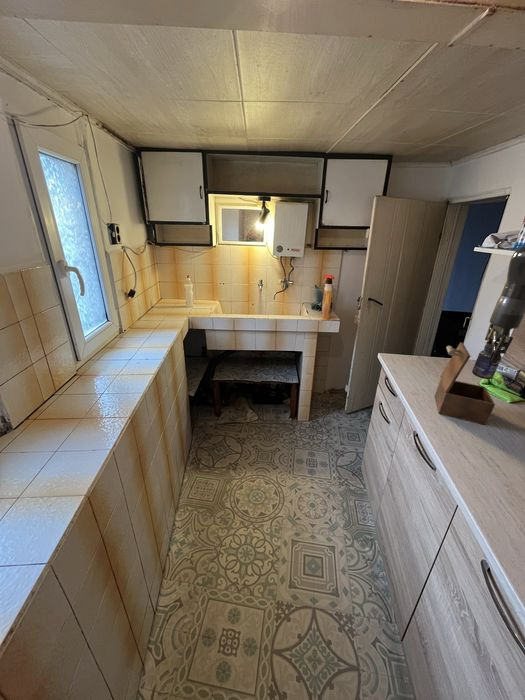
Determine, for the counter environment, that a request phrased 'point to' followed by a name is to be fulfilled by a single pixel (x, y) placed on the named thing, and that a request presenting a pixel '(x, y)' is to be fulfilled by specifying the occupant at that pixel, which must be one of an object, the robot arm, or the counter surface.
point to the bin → (465, 402)
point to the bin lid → (454, 365)
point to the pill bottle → (485, 364)
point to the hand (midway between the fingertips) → (489, 358)
